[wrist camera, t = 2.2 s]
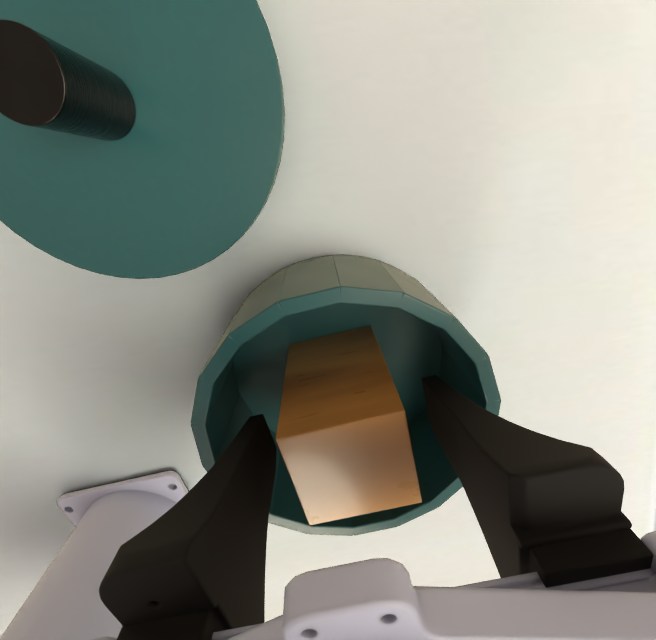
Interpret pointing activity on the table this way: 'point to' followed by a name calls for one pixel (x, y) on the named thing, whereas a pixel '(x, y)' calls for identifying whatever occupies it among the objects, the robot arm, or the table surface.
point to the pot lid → (137, 129)
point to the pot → (325, 319)
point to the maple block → (345, 429)
